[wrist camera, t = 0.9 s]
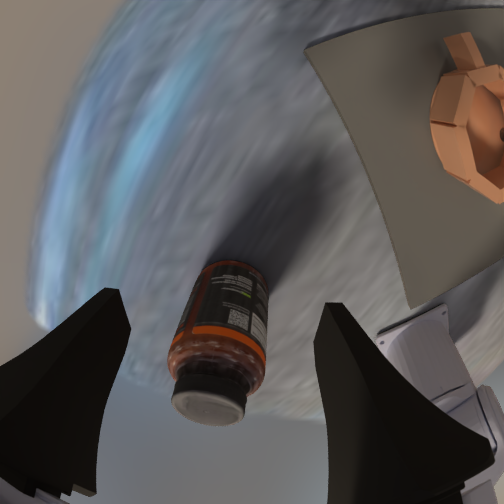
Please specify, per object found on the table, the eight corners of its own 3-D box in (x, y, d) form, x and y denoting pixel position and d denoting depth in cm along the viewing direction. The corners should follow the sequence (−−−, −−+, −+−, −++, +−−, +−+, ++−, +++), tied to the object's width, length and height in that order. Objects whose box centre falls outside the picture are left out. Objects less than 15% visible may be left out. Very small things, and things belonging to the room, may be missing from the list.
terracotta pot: (517, 164, 14) (542, 176, 11) (448, 201, 16) (473, 219, 14) (476, 33, 9) (503, 28, 6) (393, 51, 12) (417, 42, 9)
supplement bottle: (203, 315, 24) (169, 427, 14) (191, 257, 21) (134, 373, 12) (270, 316, 24) (263, 436, 14) (268, 256, 21) (259, 385, 11)
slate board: (552, 214, 15) (556, 217, 15) (407, 304, 22) (410, 309, 21) (504, 9, 7) (509, 8, 6) (303, 52, 14) (304, 49, 13)
